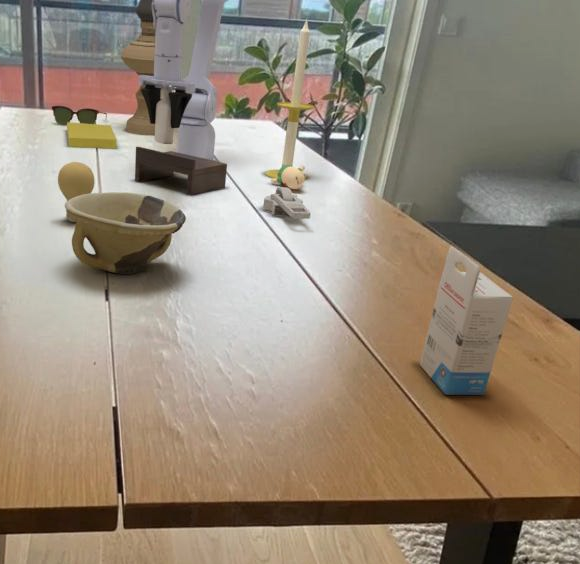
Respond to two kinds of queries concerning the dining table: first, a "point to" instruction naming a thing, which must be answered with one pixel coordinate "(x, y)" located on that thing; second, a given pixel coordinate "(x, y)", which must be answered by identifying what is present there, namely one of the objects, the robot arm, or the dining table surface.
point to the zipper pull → (285, 204)
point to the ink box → (464, 328)
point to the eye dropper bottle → (164, 118)
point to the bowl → (122, 229)
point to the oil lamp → (141, 67)
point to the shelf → (180, 169)
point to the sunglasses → (66, 114)
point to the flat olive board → (90, 135)
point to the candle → (295, 102)
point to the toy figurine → (290, 176)
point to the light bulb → (75, 181)
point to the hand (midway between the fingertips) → (164, 125)
